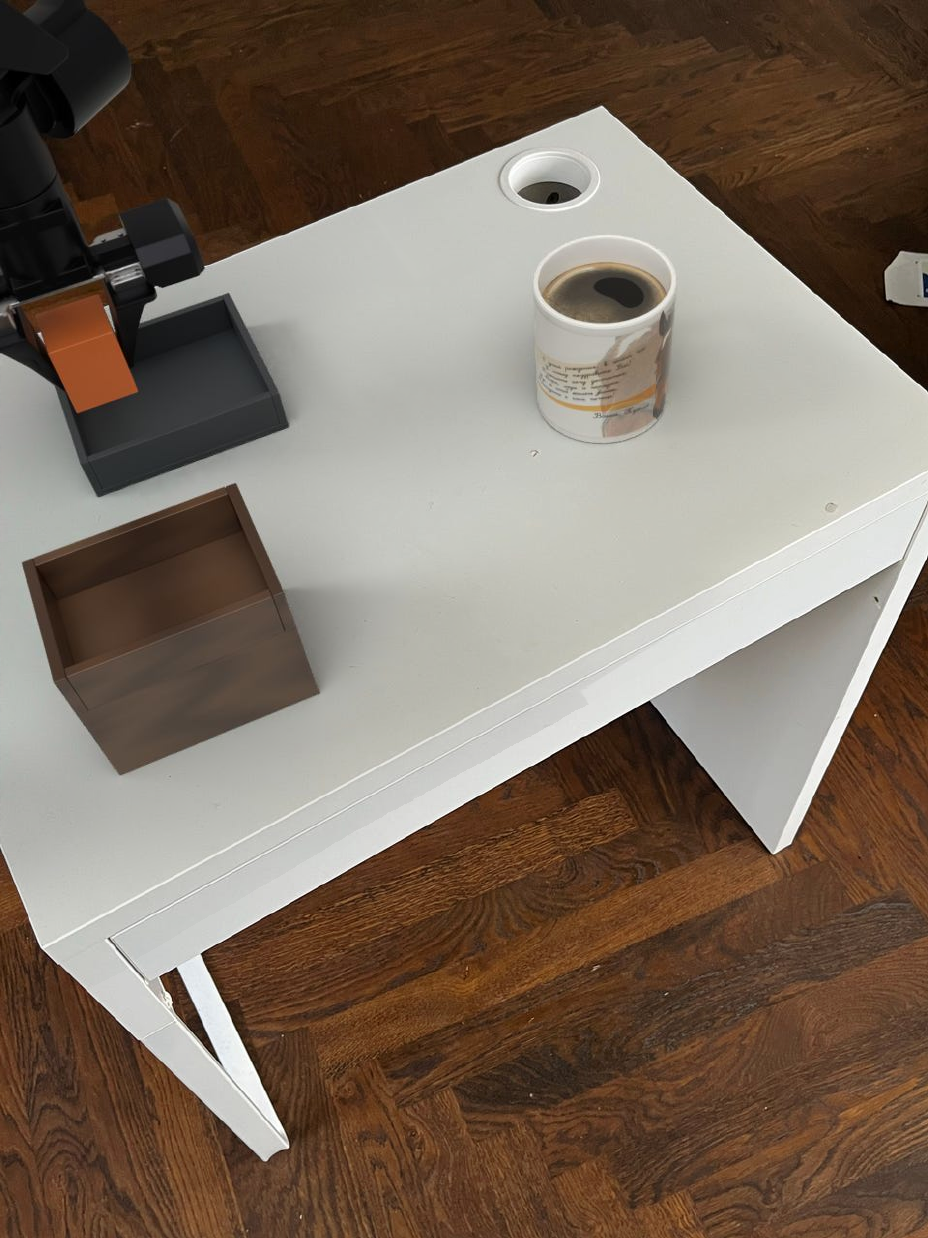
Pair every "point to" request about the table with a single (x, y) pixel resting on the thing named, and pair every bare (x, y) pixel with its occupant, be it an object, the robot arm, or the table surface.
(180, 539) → the box
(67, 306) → the block
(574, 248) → the mug
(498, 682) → the table surface
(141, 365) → the tub
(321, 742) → the table surface
